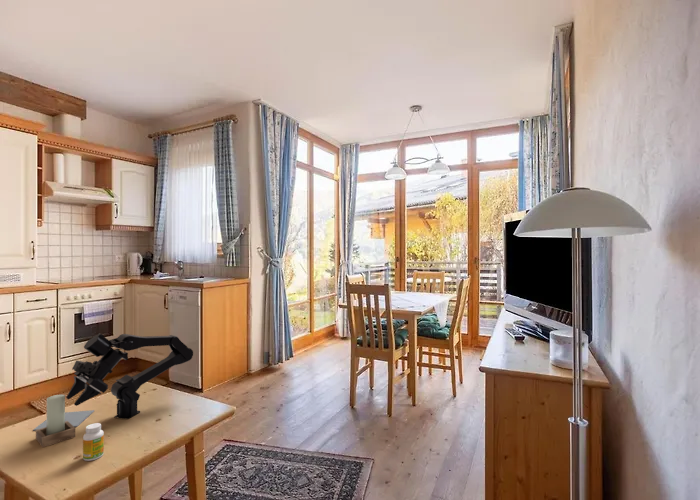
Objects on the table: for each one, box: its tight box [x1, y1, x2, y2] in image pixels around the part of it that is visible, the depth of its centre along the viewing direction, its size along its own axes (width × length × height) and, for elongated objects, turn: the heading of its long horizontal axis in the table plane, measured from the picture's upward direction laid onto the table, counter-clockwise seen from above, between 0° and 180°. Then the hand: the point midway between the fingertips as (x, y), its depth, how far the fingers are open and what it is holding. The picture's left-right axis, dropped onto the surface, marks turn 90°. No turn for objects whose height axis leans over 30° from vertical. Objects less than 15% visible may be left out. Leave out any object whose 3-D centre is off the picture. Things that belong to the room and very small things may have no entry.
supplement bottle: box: [82, 422, 105, 462], centre depth 118 cm, size 5×5×10 cm
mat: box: [32, 409, 95, 432], centre depth 143 cm, size 14×14×1 cm
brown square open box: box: [35, 421, 76, 448], centre depth 130 cm, size 9×9×3 cm
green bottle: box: [46, 394, 66, 436], centre depth 130 cm, size 5×5×14 cm
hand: (71, 401), depth 133 cm, fingers open, 9 cm apart
